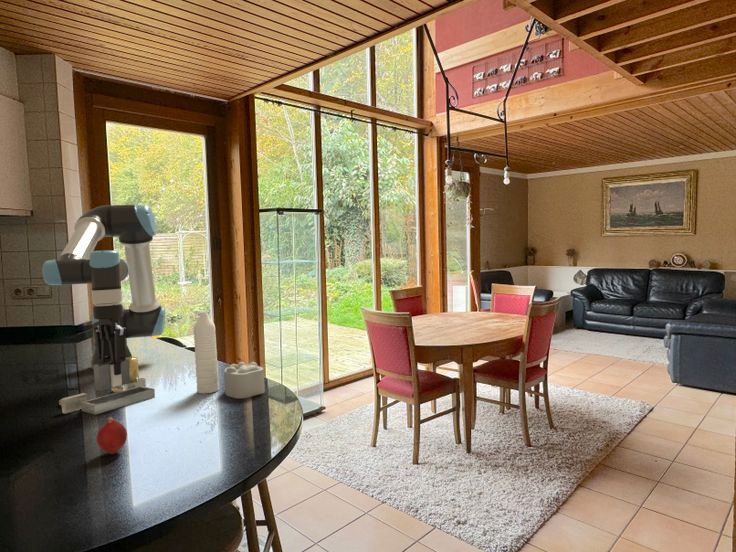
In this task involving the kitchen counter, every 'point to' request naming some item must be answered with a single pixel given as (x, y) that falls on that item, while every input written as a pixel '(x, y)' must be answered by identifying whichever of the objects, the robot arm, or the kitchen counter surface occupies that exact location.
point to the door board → (108, 399)
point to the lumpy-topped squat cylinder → (244, 380)
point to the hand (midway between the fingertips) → (113, 385)
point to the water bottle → (205, 354)
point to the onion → (111, 436)
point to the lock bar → (127, 373)
